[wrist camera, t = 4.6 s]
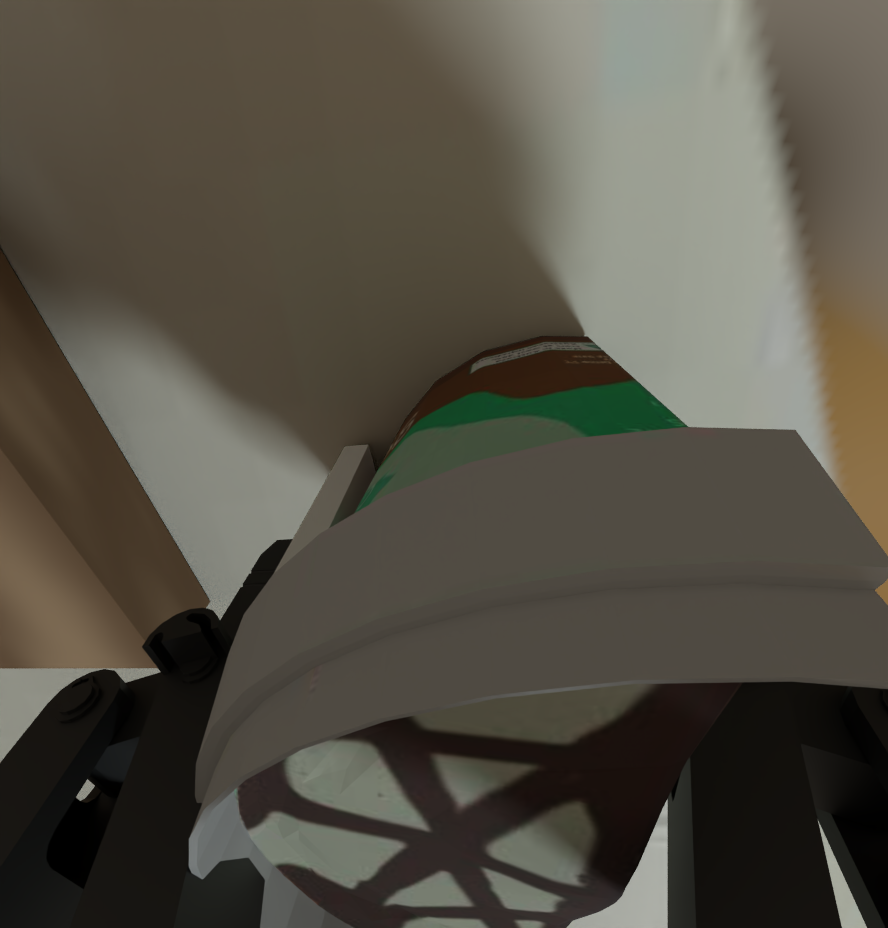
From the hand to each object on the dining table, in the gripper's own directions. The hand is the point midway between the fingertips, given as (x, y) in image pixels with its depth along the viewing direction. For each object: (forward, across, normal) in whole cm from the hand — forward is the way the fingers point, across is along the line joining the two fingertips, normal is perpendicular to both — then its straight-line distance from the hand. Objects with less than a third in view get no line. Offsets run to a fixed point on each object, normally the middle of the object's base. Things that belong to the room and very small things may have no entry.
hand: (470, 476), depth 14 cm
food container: (0, +1, 0) cm, 1 cm away
